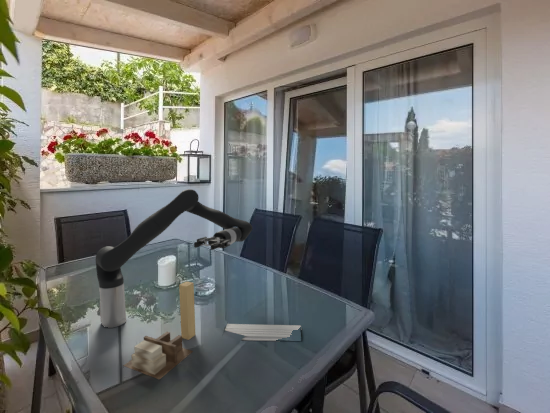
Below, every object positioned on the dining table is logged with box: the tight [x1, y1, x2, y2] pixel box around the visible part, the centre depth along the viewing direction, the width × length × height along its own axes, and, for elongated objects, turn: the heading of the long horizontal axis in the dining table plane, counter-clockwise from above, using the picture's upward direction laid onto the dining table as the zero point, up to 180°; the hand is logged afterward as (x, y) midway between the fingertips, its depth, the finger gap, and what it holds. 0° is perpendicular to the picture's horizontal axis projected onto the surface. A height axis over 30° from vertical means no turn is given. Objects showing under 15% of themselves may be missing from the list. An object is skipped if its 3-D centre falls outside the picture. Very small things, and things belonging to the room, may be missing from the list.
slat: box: [178, 280, 196, 341], centre depth 117 cm, size 4×4×22 cm
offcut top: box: [133, 339, 162, 361], centre depth 100 cm, size 8×4×3 cm, turn 66°
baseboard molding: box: [222, 322, 302, 342], centre depth 123 cm, size 31×3×12 cm
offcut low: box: [130, 352, 166, 375], centre depth 101 cm, size 10×5×4 cm, turn 66°
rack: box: [122, 331, 194, 380], centre depth 105 cm, size 16×16×8 cm
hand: (203, 246), depth 127 cm, fingers open, 8 cm apart
